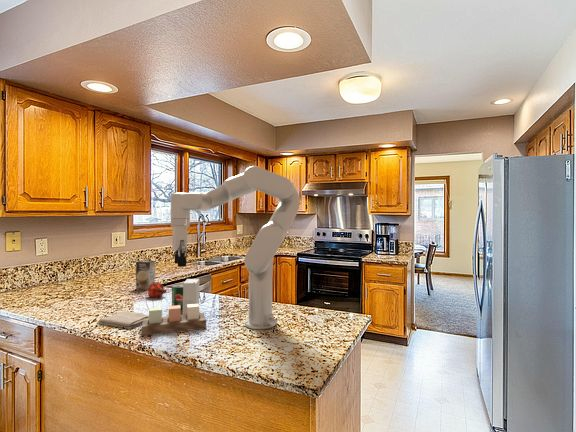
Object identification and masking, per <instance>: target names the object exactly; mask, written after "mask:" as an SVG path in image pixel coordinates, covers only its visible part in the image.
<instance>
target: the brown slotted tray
mask: <svg viewBox="0 0 576 432" xmlns="http://www.w3.org/2000/svg"><path fill="white" fill-rule="evenodd" d="M202 329H207V319H206V316H205V312H199V319H193V320H187V314H185V315H183V314H181V321H174V322H169V315H167V316H162V323H154V324H149V318H145V319H143V323H142V325H141V336H150V335H159V334H166V333H169V334H170V333H176V332H186V331H191V330H192V331H194V330H202Z"/></svg>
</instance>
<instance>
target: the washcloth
mask: <svg viewBox="0 0 576 432" xmlns="http://www.w3.org/2000/svg"><path fill="white" fill-rule="evenodd" d="M145 318H149V314H145V313H143V312H135V311H127V310H122V311H119V312H116V313H114V314H112V315H108V316H105V317H103V318H100V319H98V324H100V325H105V326H110V325H111V326H110V327H117V326H118V327H117V328H122V327H124V329H129V330H131V329H134V328H137V327H139V326H142V323H143V319H145Z"/></svg>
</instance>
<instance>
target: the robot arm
mask: <svg viewBox="0 0 576 432" xmlns="http://www.w3.org/2000/svg"><path fill="white" fill-rule="evenodd" d="M256 191H258V192H261V193H262V194H266V195H269V196H270V197H273V198H276V199H278V205H277V206H276V208H275V210H274V211H273V212H272V213H273V214H272V215H271V217H270V219H269V220H268V222H267V223H266V224H264V225H263V226H262V227H261V228H260V229H259V230H258V232H257V234H256V236H255V237H254V239H253V242H251V244H250V246H249V248H248V250H247V252H246V254H245V256H244V266H245V268H246V270H247V271H248V318H247V319H246V320H245V321H244V326H245V327H246V328H248V329H251V330H252V329H253V330H265V329H266V330H268V329H272V328H274V327H276V325H277V323H278V320H277V318H276V319H275V317H274V315H275V314H274V313H273V271H274V257H275V255H276V253H277V252H278V249H280V246H281V245H282V244H283V242H284V240H285V238H286V236H287V233H288V232H289V230H290V228H291V226H292V224H293V222H294V220H295V218H296V216H297V214H298V212H299V210H300V203H301V202H300V200H301V199H300V196H299V192H298V190H297V188H296V187H295V185H294V184H293V182H292V181H291V180H290V179H289V178H287V177H285V176H283V175H280V174H277V173H276V172H272V171H271V170H268V169H265V168H263V167H260V166H257V165H252V166H249V167H247V168H246V169H245V170H244V171H243V172H242V173H239V174H237V175H235V176H231V177H228V178H227V179H225V180H224V181H223V183H222V184H221V185H220V186H218V187H216V188H213V189H211V190H208V191H206V192H200V191H193V192H174V193H172V194H171V196H170V227H172V237H171V238H172V240H171V242H172V243H171V249H172V251H174V264H177V267H178V268H181V267H187V251H188V227H190V226H191V211H196V212H200V211H202V212H206V211H209V210H212V209H215V208H217V207H220V206H223V205H225V204H227V203H229V202H232V201H234V200H236V199H238V198H241V197H243V196H245V195H248V194H251V193H254V192H256Z"/></svg>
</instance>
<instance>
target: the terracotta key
mask: <svg viewBox="0 0 576 432" xmlns="http://www.w3.org/2000/svg"><path fill="white" fill-rule="evenodd" d="M181 312H182V311H181V307H180V305H176V306H172V305H168V316H169V322H174V321H181V315H182V313H181Z"/></svg>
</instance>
